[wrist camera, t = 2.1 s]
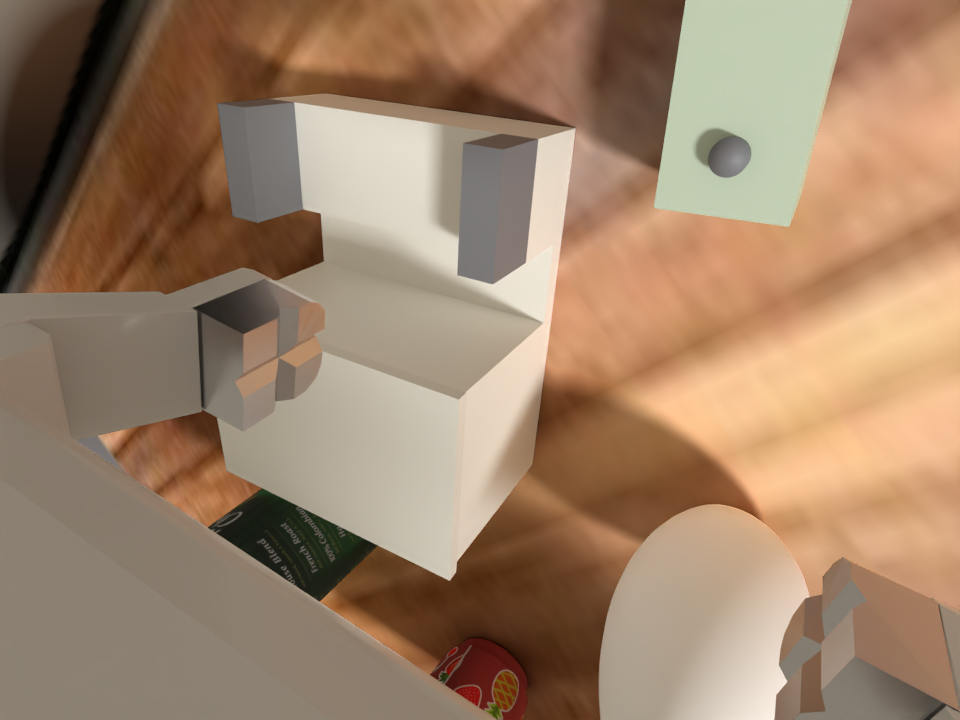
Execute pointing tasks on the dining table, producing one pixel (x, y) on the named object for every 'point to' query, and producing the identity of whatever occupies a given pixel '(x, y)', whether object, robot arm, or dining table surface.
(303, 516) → the coffee jar
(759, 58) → the door panel
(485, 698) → the smoothie
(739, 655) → the sauce bottle
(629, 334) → the dining table surface
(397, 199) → the cream armchair block
